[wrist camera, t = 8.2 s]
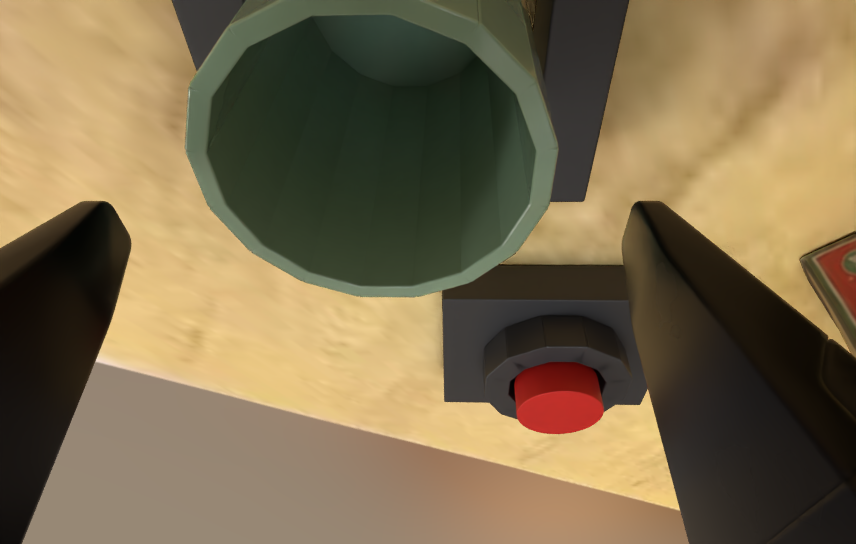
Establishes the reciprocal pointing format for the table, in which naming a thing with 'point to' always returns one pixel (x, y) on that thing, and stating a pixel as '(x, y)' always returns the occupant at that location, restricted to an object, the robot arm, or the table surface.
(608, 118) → the table surface
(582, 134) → the dark square frame
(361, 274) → the tumbler
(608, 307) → the button panel
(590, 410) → the release button
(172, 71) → the table surface
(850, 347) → the food packaging
